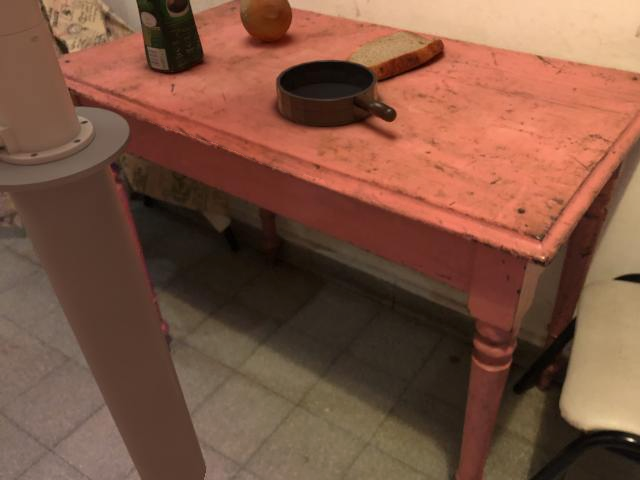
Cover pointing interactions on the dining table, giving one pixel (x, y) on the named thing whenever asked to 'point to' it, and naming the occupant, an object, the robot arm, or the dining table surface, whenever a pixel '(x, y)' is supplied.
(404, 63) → the bread slice
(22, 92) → the robot arm
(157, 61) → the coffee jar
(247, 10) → the onion
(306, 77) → the pan
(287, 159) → the dining table surface
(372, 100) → the pan handle
